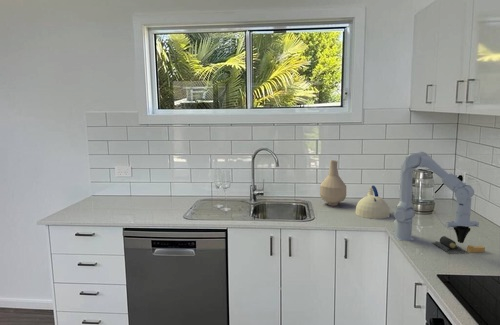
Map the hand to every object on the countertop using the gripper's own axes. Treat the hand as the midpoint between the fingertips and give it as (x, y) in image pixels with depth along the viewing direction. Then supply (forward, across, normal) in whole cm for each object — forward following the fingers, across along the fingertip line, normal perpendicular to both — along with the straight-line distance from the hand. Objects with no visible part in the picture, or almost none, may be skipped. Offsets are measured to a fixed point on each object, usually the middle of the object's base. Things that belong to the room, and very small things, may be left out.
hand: (460, 242), depth 169 cm
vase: (+6, -30, +92) cm, 97 cm away
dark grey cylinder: (+5, -1, +7) cm, 9 cm away
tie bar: (+5, +8, 0) cm, 9 cm away
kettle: (+6, -13, +66) cm, 67 cm away
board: (+5, -1, +2) cm, 6 cm away
